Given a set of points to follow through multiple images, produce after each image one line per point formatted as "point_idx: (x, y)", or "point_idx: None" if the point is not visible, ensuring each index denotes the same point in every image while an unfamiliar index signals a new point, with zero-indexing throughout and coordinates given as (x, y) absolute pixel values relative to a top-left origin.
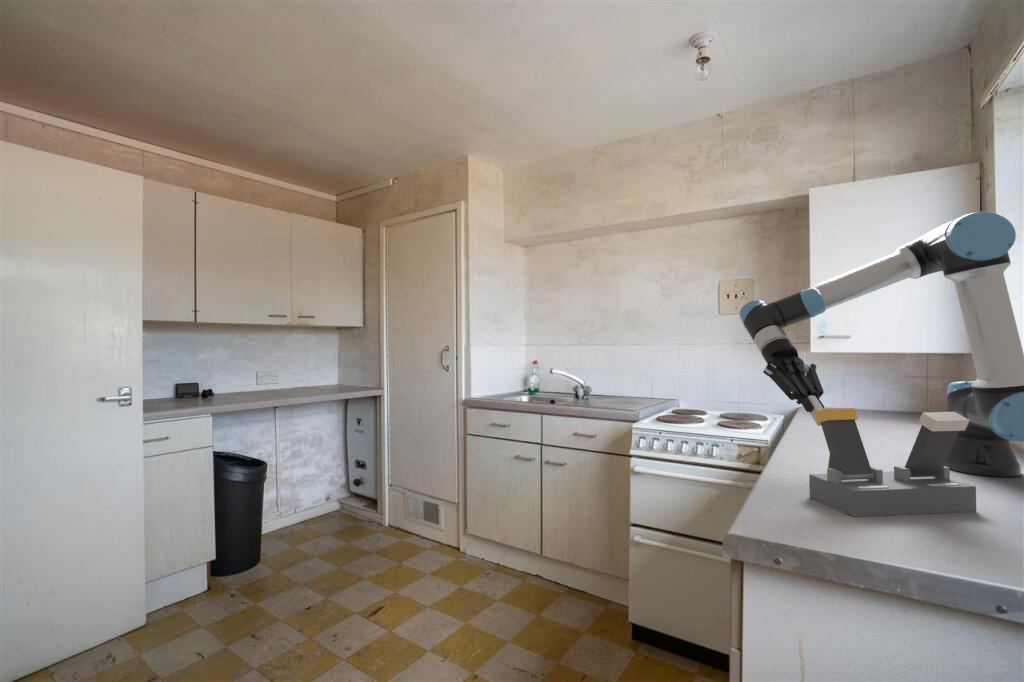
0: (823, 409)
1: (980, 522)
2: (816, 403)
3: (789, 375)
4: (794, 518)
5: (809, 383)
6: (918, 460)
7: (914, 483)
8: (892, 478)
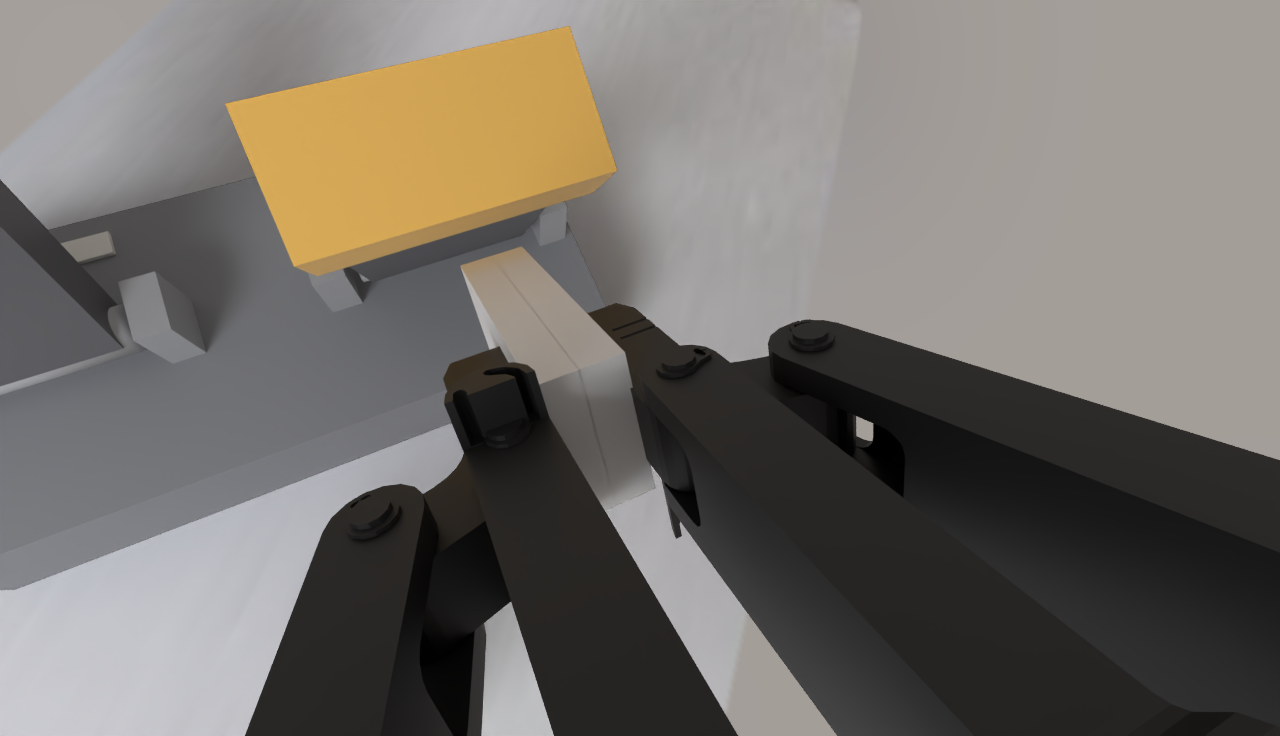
0: (571, 36)
1: (71, 204)
2: (545, 311)
3: (1144, 719)
4: (705, 129)
5: (558, 611)
6: (44, 228)
7: (164, 270)
8: (222, 340)
